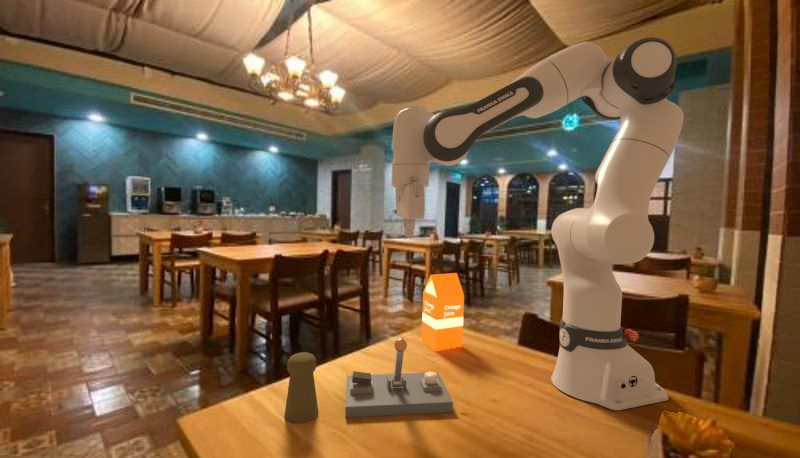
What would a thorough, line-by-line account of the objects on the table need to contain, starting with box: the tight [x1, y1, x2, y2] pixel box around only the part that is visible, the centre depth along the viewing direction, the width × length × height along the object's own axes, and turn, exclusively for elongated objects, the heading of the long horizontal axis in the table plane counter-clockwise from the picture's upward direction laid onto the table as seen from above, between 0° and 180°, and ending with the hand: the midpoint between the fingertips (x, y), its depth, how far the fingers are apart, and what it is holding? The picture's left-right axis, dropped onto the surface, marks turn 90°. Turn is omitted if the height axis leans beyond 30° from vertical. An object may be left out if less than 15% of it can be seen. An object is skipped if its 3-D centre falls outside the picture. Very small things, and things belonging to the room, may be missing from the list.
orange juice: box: [421, 272, 465, 352], centre depth 101 cm, size 8×9×20 cm
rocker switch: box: [351, 370, 372, 385], centre depth 72 cm, size 4×2×1 cm, turn 97°
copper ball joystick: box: [392, 337, 408, 387], centre depth 70 cm, size 2×2×13 cm
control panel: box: [344, 372, 454, 418], centre depth 73 cm, size 20×12×4 cm, turn 97°
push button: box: [424, 371, 437, 384], centre depth 73 cm, size 3×3×1 cm
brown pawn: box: [284, 351, 319, 424], centre depth 66 cm, size 6×6×11 cm
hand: (408, 237), depth 86 cm, fingers closed
